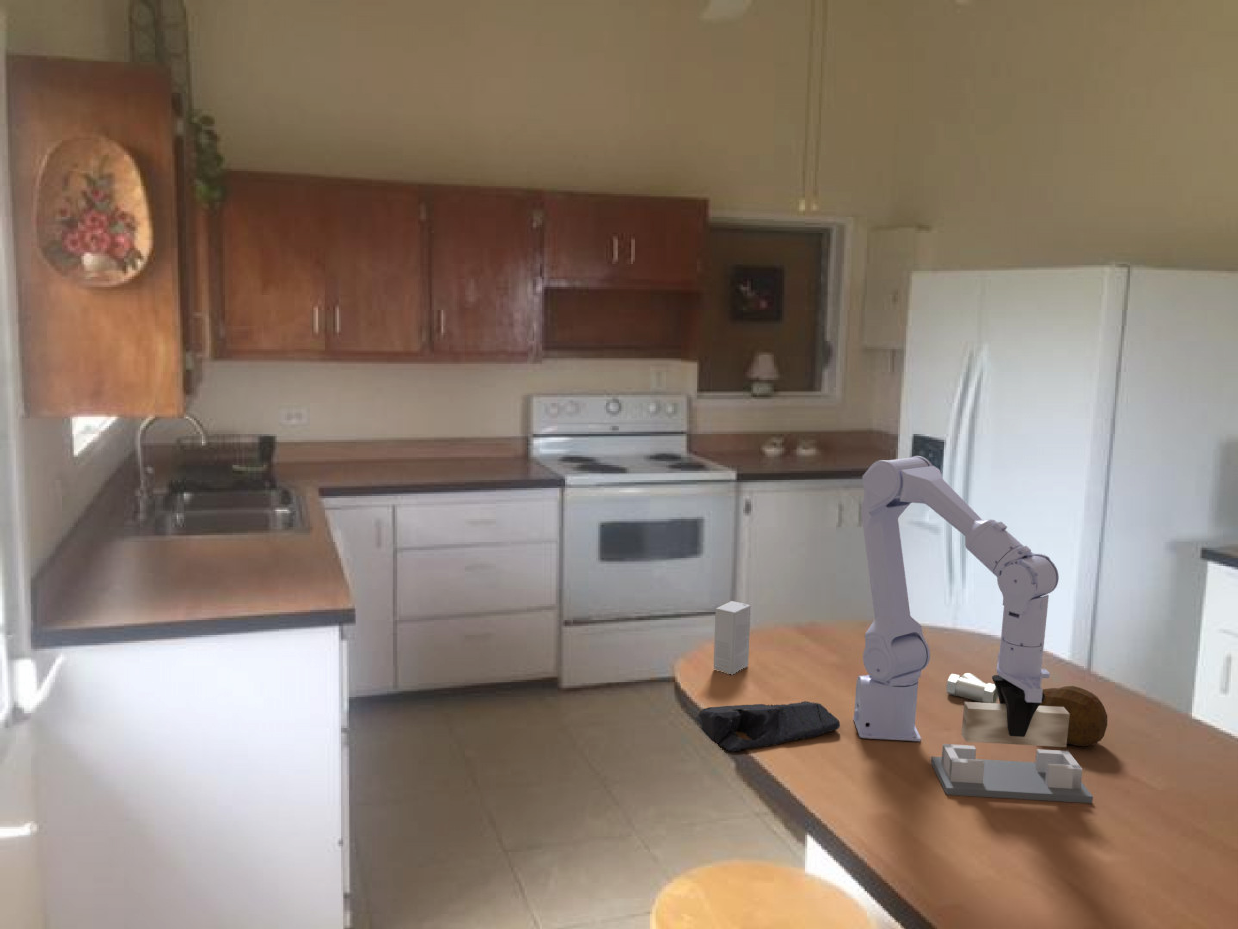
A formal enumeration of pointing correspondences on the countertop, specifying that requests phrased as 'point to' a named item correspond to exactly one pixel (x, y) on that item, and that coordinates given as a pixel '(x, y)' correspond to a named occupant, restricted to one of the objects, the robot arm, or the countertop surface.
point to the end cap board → (1011, 776)
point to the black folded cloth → (765, 724)
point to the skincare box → (731, 637)
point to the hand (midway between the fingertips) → (1013, 731)
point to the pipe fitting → (971, 688)
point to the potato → (1079, 713)
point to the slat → (992, 725)
